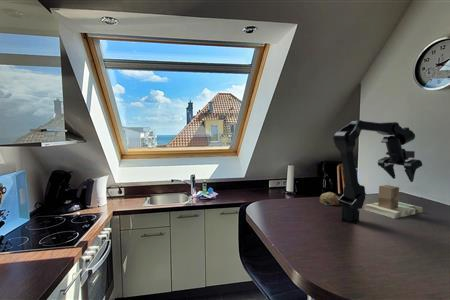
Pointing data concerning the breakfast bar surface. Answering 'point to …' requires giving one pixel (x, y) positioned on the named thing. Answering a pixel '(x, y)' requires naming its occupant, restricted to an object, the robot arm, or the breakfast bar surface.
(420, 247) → the breakfast bar surface
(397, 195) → the walnut block
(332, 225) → the breakfast bar surface
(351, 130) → the robot arm
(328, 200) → the bread roll
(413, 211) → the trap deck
